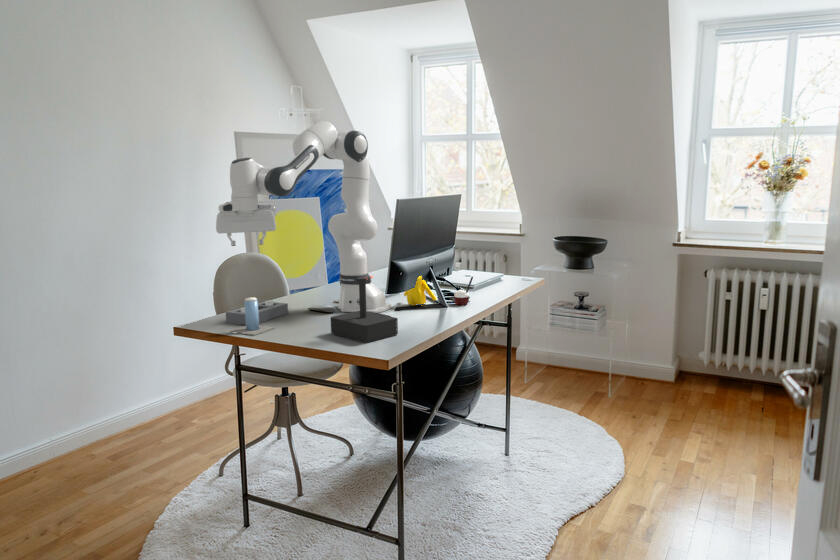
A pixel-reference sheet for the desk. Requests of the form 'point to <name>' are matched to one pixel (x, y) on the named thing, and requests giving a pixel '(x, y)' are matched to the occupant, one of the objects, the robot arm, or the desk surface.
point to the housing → (263, 311)
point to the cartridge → (251, 314)
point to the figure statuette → (419, 293)
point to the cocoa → (462, 296)
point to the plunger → (269, 302)
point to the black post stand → (364, 321)
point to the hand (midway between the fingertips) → (247, 245)
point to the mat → (255, 332)
